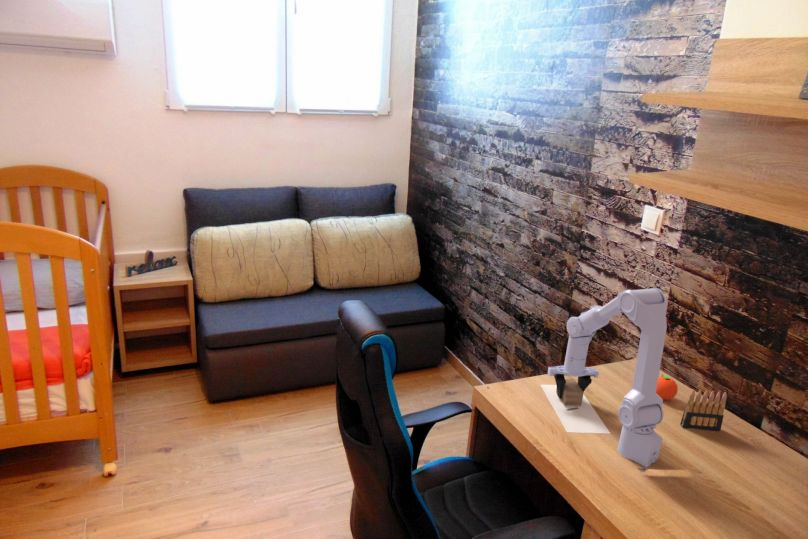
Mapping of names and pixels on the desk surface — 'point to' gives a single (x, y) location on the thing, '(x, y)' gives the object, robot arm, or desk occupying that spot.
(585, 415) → the plank
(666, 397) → the clementine
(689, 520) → the desk surface
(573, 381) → the block
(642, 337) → the robot arm
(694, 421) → the ammunition clip
